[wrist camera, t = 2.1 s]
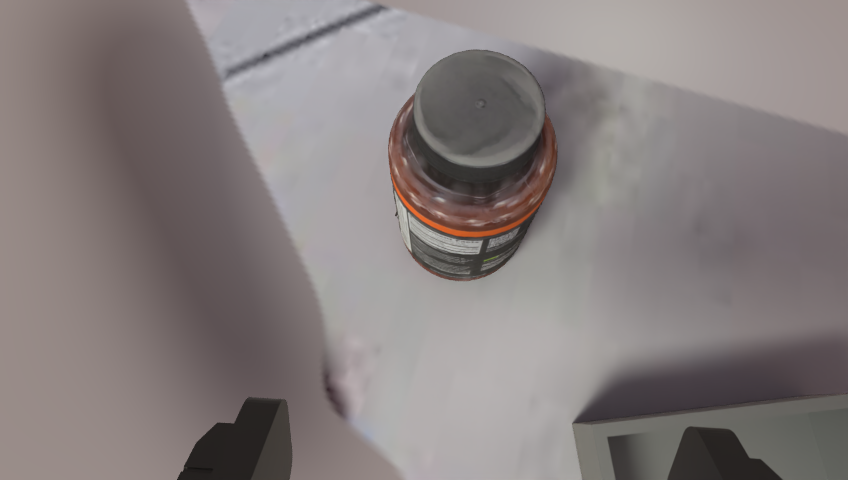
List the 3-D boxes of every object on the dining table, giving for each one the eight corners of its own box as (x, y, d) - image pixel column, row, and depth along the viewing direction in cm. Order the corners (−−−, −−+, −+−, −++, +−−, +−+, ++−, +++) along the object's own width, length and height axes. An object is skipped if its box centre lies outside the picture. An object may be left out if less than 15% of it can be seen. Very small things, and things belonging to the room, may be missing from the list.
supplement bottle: (445, 148, 28) (456, -14, 18) (543, 212, 27) (620, 80, 16) (375, 239, 27) (340, 123, 16) (476, 309, 26) (511, 235, 15)
